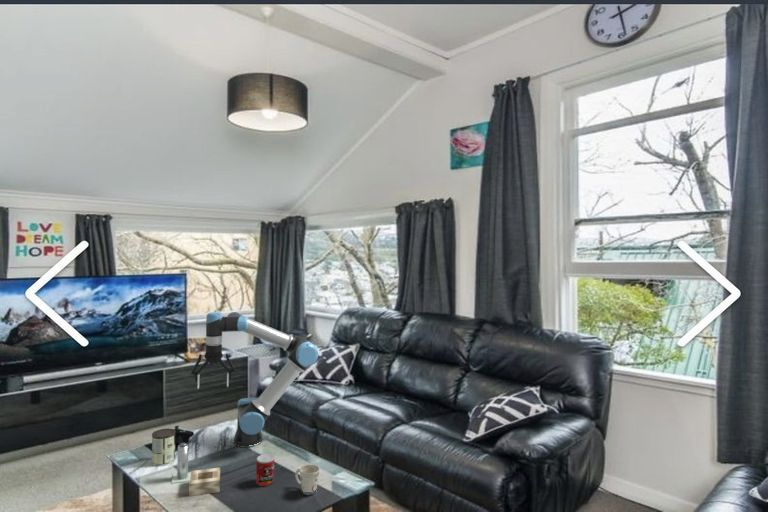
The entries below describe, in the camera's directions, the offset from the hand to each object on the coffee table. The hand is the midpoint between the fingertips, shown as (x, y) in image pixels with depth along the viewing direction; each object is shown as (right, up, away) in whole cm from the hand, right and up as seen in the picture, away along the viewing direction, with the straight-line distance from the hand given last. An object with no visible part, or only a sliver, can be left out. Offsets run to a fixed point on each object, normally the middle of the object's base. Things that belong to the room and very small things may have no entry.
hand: (213, 387), depth 231 cm
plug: (-6, -35, -21) cm, 41 cm away
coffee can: (-22, -35, -6) cm, 41 cm away
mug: (+51, -37, -30) cm, 69 cm away
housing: (+7, -35, -29) cm, 46 cm away
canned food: (+32, -36, -23) cm, 53 cm away
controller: (-21, -34, +12) cm, 42 cm away
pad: (-6, -35, -21) cm, 41 cm away
